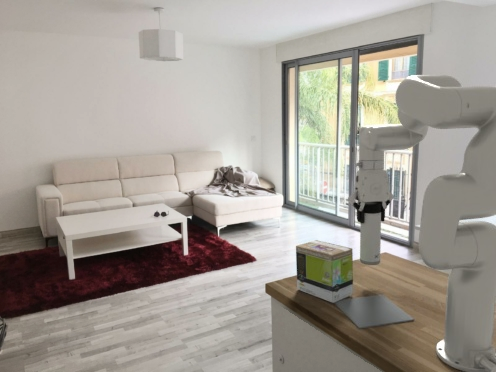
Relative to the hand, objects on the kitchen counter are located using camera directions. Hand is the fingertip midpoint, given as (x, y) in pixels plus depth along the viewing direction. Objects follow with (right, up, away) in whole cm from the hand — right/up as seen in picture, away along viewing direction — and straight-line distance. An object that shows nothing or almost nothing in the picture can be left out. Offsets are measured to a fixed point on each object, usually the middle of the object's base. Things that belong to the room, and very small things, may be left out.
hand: (370, 221), depth 132 cm
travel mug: (+1, -14, +2) cm, 14 cm away
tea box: (-15, -22, -3) cm, 27 cm away
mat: (-4, -24, -15) cm, 29 cm away
